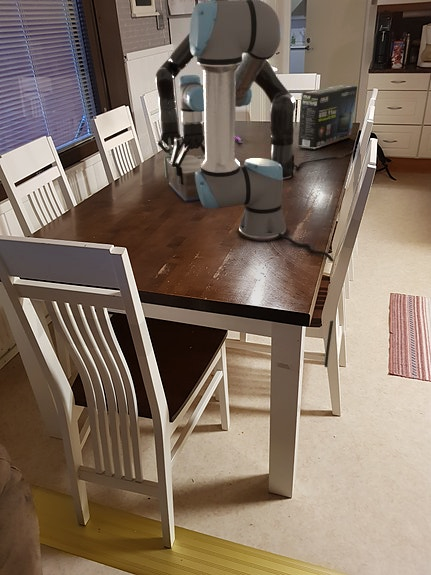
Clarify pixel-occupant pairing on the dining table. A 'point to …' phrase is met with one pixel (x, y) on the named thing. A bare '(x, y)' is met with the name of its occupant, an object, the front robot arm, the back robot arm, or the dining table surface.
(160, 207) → the dining table surface
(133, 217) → the dining table surface
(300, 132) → the router box
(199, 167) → the small box
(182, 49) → the back robot arm
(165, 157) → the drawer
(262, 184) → the front robot arm
